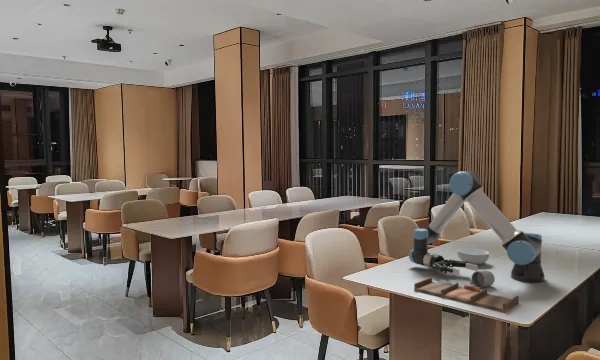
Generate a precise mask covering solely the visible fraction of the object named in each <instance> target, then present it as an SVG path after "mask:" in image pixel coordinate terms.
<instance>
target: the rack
mask: <svg viewBox="0 0 600 360" xmlns="http://www.w3.org/2000/svg"><path fill="white" fill-rule="evenodd" d="M413 287H414V289H413V290H414V291H415V292H420V293H424V294H428V295H432V296H437V297H441V298H444V299H447V300H452V301H456V302H461V303H465V304H468V305H473V306H476V307H480V308H485V309H489V310H494V311H498V312H501V313H507V312H509V311H510V310H511V309H512V308H515V307H516V306H517V305H519V304H520V303H519V302H520V301H519V300H520V296H519V295H515V296H514V297H512V298H508V297H504V296H500V295H495V294H490V293H488V289H487V288H483V289H482V290H481V288H478V287H476V286H473V285H468V284H464V285H463V287H459V282H455V283H453V284H451V285H449V284H445V283H440V282H437V281H433V277H427V278H426V279H422V280H419V281H417V282H415V283H414V286H413Z"/></svg>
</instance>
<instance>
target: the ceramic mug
mask: <svg viewBox="0 0 600 360" xmlns="http://www.w3.org/2000/svg"><path fill="white" fill-rule="evenodd" d="M495 280H496V279H495V275H494V274H493V272H491V271H490V270H477V271H474V272H473V273H472V275H471V279H469V281H470V284H472V285H474V287H478V288H480V289H482V288H486V287H490V286H493V285H494V283H495Z"/></svg>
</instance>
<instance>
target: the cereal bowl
mask: <svg viewBox="0 0 600 360" xmlns="http://www.w3.org/2000/svg"><path fill="white" fill-rule="evenodd" d="M457 257H458V259H459V261H465V262H466V261H467V262H469V264H473V265H477V266H479V265H481V264H484V263H486V262H487V261H488V260H489V258H490V252H489V251H487V250H485V249H480V248H479V249H478V248H471V247H468V248H467V247H466V248H465V247H464V248H457Z"/></svg>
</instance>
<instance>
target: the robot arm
mask: <svg viewBox="0 0 600 360" xmlns="http://www.w3.org/2000/svg"><path fill="white" fill-rule="evenodd" d="M449 188H450V190H451V192H452V194H451V195H450V197H449V198H448V199H447V200H446V202H445V203H444V205H443V206H442V207H441V209H440V210H439V211H438V213H437V214H436V215H435V216H434V218H433V219H432V221H431V222H430V223H429V225H428V226H427V227H426V228H415V229H414V231H413V249H411V250H410V252H409V254H408V258H409V261H410V262H411V263H414V264H415V265H420V266H423V267H428V269H433V270H437V271H438V272H440V273H444V274H448V273H449V274H453V275H457V276H460V269H459V268H465V269H467V270H470V271H474V272H476V271H478V267H479V265H473V264H469V262H467V261H466V262H465V261H462V260H455V259H451V258H450V259H445V258H444V256H443V255H440V254H437V253H433V252H428V251H429V244H432V243H434V242H436V241H437V240H438V239H439V236H440V234H441V233H442V231H443V230H444V228H446V227H447V225H448V224H449V223H450V221H451V220H452V219H453V217H454V216H455V215H456V214H457V212H458V211H459V210H460V209H461V207H462V206H463V205H464V203H469V204H470V205H471V206H472V208H474V210H475V211H476V212H477V213H478V215H480V217H481V218H482V220H484V222H486V224H487V225H488V226H489V228H490V229H491V230H492V231H493V233H495V234H496V236H498V238H499V239H500V240H501V246H502V247H503V248H504V249H505V251H506V255H507V257H508V258H509V260H510V261H511V262H512V263H514V264H513V267H512V268H511V271H510V277H511V279H514V280H517V281H519V282H520V281H521V282H525V283H526V282H527V283H542V282H545V279H546V278H545V272H544V270H543V266H542V246H543V245H542V243H543V238H542V237H543V236H542V234H539V233H531V232H524V231H523V230H519V229H517V228H516V227H515V226H514V225H513V224H512V223H511V222H510V220H508V218H507V217H506V216H505V215H504V214H503V213H502V211H501V210H500V209H499V208H498V207H497V205H496V204H495V203H494V202H493V201H492V199H490V198H489V197H488V195H487V194H486V193H485V192H484V186H483V185H482V184H481V178H480V176H479V174H478V173H476V172H475V171H474V170H473V171H472V170H465V171H462V170H461V171H458V172H455V173H454V174H453V175H452V176H451V177H450V179H449Z"/></svg>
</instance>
